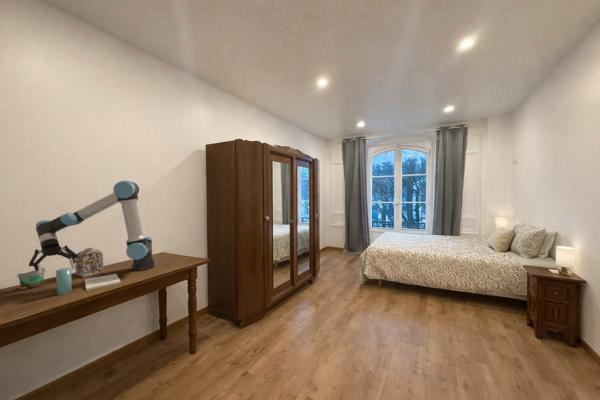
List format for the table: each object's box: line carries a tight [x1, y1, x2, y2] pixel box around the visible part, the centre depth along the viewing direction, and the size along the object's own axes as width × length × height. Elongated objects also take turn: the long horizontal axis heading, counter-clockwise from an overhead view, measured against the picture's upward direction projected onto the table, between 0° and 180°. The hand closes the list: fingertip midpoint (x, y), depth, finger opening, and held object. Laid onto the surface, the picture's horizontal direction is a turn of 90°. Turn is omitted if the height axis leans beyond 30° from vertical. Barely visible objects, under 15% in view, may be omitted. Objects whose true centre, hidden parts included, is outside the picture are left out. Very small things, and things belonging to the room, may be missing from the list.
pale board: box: [84, 273, 122, 291], centre depth 151 cm, size 16×20×1 cm
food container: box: [16, 267, 47, 291], centre depth 145 cm, size 12×6×10 cm, turn 168°
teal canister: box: [55, 267, 73, 296], centre depth 136 cm, size 6×6×13 cm
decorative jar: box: [74, 247, 104, 278], centre depth 168 cm, size 12×12×18 cm
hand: (57, 271), depth 138 cm, fingers open, 13 cm apart
